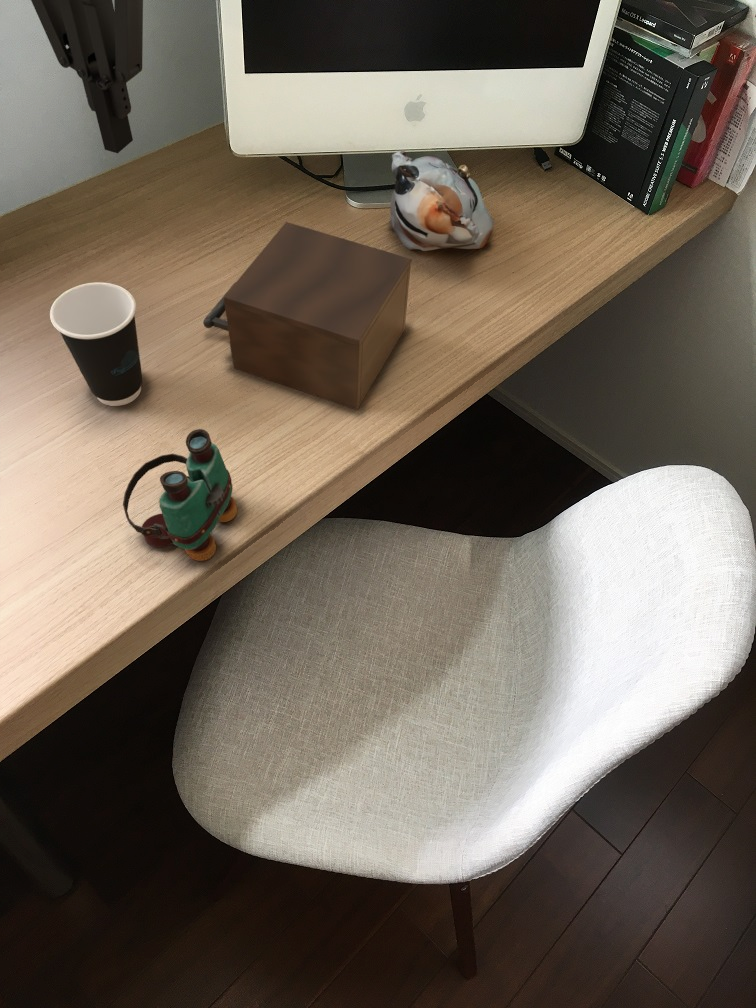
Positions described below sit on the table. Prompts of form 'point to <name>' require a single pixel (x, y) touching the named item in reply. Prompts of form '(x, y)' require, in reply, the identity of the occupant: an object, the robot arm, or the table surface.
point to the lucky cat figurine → (437, 205)
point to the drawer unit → (318, 313)
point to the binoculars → (189, 499)
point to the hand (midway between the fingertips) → (118, 144)
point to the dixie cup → (102, 339)
